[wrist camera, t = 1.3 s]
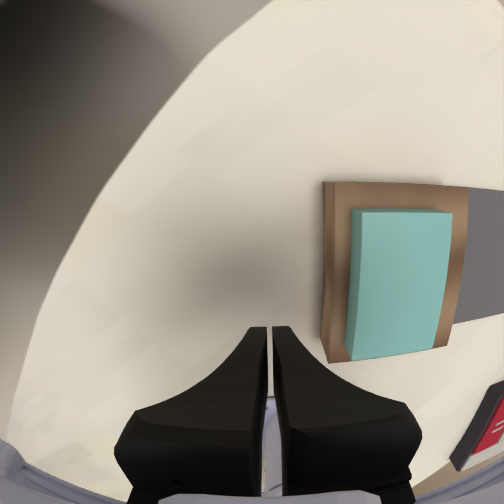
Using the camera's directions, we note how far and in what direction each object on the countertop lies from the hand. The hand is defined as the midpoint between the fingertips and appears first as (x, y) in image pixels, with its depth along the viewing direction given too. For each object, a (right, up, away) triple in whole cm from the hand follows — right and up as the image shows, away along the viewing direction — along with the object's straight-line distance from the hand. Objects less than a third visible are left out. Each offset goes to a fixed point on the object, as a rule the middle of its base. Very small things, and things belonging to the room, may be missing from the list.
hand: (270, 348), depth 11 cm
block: (+8, +2, +5) cm, 10 cm away
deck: (+9, +3, +10) cm, 14 cm away
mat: (+20, +3, +9) cm, 22 cm away
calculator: (+34, -20, +15) cm, 42 cm away
